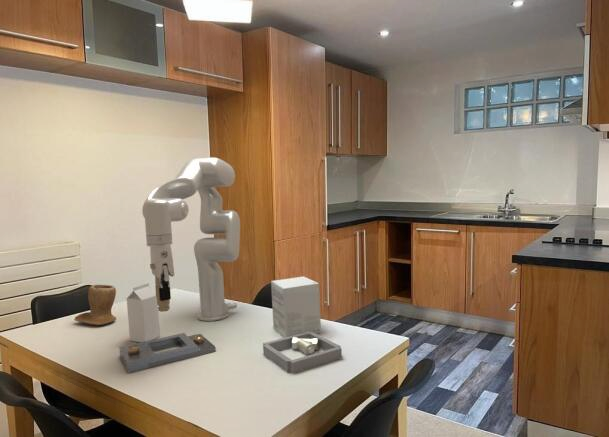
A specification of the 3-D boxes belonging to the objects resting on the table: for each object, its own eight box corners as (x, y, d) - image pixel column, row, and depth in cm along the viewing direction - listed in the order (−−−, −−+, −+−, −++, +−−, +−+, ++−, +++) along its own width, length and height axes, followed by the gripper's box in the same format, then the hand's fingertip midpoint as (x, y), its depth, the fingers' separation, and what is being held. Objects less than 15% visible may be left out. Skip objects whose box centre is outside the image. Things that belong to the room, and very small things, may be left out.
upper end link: (184, 341, 149) (183, 328, 148) (198, 355, 136) (197, 341, 135) (120, 356, 138) (118, 342, 138) (128, 373, 125) (127, 357, 125)
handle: (177, 309, 138) (174, 262, 137) (159, 314, 133) (156, 265, 132) (168, 307, 141) (165, 260, 140) (150, 312, 136) (147, 264, 135)
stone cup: (124, 320, 176) (121, 283, 175) (98, 329, 166) (94, 290, 164) (100, 315, 183) (97, 280, 182) (73, 324, 173) (70, 287, 172)
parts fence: (311, 339, 145) (310, 330, 145) (344, 357, 129) (343, 347, 129) (261, 353, 135) (260, 343, 135) (290, 374, 120) (289, 363, 120)
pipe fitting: (315, 357, 132) (319, 347, 138) (314, 345, 131) (318, 336, 137) (289, 356, 133) (294, 346, 140) (288, 344, 133) (294, 335, 139)
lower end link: (200, 337, 151) (200, 329, 151) (215, 351, 139) (215, 341, 138) (138, 352, 141) (137, 342, 141) (148, 368, 128) (147, 357, 128)
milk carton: (160, 336, 155) (156, 283, 153) (145, 343, 148) (141, 288, 147) (145, 334, 158) (141, 282, 156) (129, 341, 151) (125, 287, 150)
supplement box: (306, 322, 163) (304, 275, 162) (321, 332, 151) (319, 282, 150) (272, 328, 158) (270, 280, 156) (285, 339, 146) (283, 288, 144)
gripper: (179, 241, 130) (183, 302, 131) (165, 236, 144) (168, 291, 146) (153, 244, 126) (157, 306, 127) (141, 239, 140) (145, 295, 142)
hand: (163, 297), depth 136 cm, fingers closed on handle, 3 cm apart
